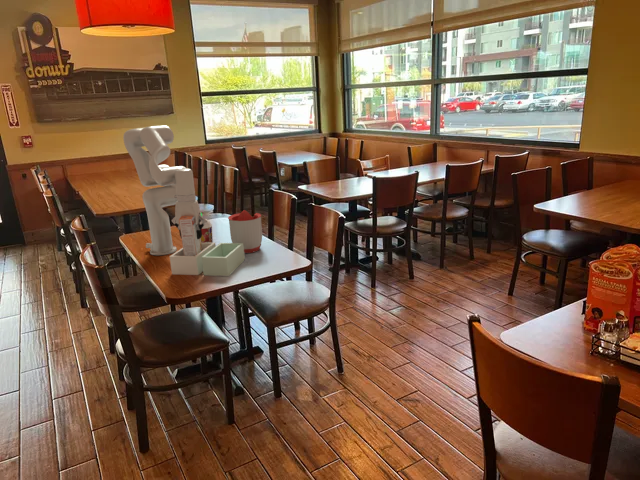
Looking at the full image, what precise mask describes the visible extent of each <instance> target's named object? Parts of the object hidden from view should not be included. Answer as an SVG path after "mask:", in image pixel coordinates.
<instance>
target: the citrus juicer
mask: <svg viewBox="0 0 640 480" xmlns="http://www.w3.org/2000/svg"><path fill="white" fill-rule="evenodd" d="M227 219H228V221H229V222H228V224H229V233H230V240H231V243H243V245H244V254H253V253H255V252H258V251H260V249H261V246H262V241H263V229H262V228H263V227H262V225H263V224H262V214H261V213H259V212H256V213H254V214H253V216H252V215H251V214H250V213H249V212H248V211H247V210H245V209H244V210H242V211H241V212H240V213H234V214H231V215H230V216H228V217H227Z"/></svg>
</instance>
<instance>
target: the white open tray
mask: <svg viewBox="0 0 640 480" xmlns="http://www.w3.org/2000/svg"><path fill="white" fill-rule="evenodd" d="M201 245H202V251H201V252H200V253H199V254H197V255H196V256H184V252H183V247H182V248H180V249H179V250H176V251H175V252H173V253H171V255H169V256H168V257H169V263H170V269H171V275H183V276H184V275H185V276H187V275H188V276H199V275H200V274H201V273H202V272H203V265H202V256H204V255H205V254H206V253H208V252H209V251H210V250H212V249H213V248H214V247H216V246H217V245H216V242H213V243H202V242H201Z"/></svg>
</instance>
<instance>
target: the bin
mask: <svg viewBox="0 0 640 480" xmlns="http://www.w3.org/2000/svg"><path fill="white" fill-rule="evenodd" d="M245 260H246V256H245V253H244V245H243V243H232V242H219V243H218V244H217V245H216V247H214V248H213V249H212V250H210V251H209V252H208V253H206V254H205V255H204V256H202V265H203V271H202V272H203V276H217V277H218V276H219V277H221V276H222V277H229V276H230V275H231V274H232V273H234V271H236V269H237V268H238V267H240V265H241V264H243V262H244V261H245Z"/></svg>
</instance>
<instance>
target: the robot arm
mask: <svg viewBox="0 0 640 480" xmlns="http://www.w3.org/2000/svg"><path fill="white" fill-rule="evenodd" d="M174 138H175V136H174V132H173V130H172V129H171V128H170V126H168V125H151V126H144V127H137V128H131V129H128V130H126V131H125V132H124V133H123V138H122V139H123V143H124V147H125V150H126V151H127V153H128V155H129V157H131V159H132V161H133V164H134V167H135V169H136V174H137V175H138V179H139V181H140V184H141V185H142V187H147V188H148V187H152V188H148V189H146V190H145V191H143V193H142V195H141V196H142V202H143V205H144V207H145V210H146V214H147V215H146V216H147V220H148V221H147V222H148V227H149V234H150V239H151V243H150V242H146V243H145V249H150V251H149V254H150V255H151V256H167V255H170V254H171V255H172V254H174V253H176V252H177V251H178V249H177V247H176V245H175V246H174V244H173V237H172V231H171V224H170V220H171V222H172V223H173V224H174V226H175V227H176V228H177V230H178V231H179V236H180V240H182V238H181V231H180V224H179V219H180V217H181V216H193V217H194V223H195V225H196V228H197V230H196V233H197V239H200V238H201V236H202V231H201V229H202V227H203V226H204V225H205V224H206V222H207V220H208V219H207V218H205V217H203V215H202V216H201V213H202V212H201V209H200V204H199V202H198V200H197V198H196V189H195V182H194V174H193V173H194V172H193V170H192V169H191V168H187V167H185V166H183V165H179V166H178V165H177V166H169V165H168V164H161V163H162V162H164V161H165V160H167V159H168V158H169V157H170V155H171V148H170V147H169V145H170V144H172V143H173V142H174ZM143 147H145V148H146V149H147V150H146V149H144V148H143ZM169 206H175V208H174V209H175V210H174V212H175V213H174V214H175V216H174V217H173V218H172V219H170V217H169V214H168V212H167V211H165V210H164V209H163V208H166V207H169ZM206 219H207V220H206ZM201 221H202V224H200V222H201Z"/></svg>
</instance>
